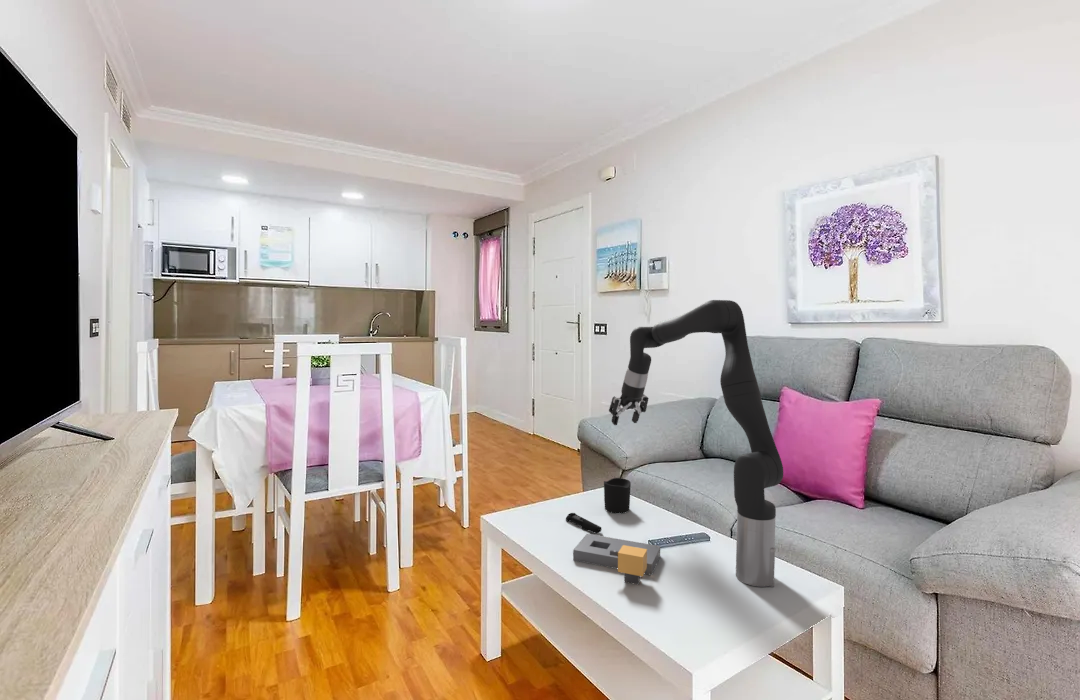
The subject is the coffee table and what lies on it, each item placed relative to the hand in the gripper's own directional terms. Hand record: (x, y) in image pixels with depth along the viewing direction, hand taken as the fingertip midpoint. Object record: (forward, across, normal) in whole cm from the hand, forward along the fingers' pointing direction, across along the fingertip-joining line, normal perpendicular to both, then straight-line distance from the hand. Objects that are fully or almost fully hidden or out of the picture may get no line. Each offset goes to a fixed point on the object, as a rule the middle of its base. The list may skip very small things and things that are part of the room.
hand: (624, 423), depth 185 cm
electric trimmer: (+27, -20, -17) cm, 38 cm away
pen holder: (+30, -2, -10) cm, 31 cm away
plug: (+15, -29, -50) cm, 60 cm away
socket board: (+19, -24, -39) cm, 50 cm away
